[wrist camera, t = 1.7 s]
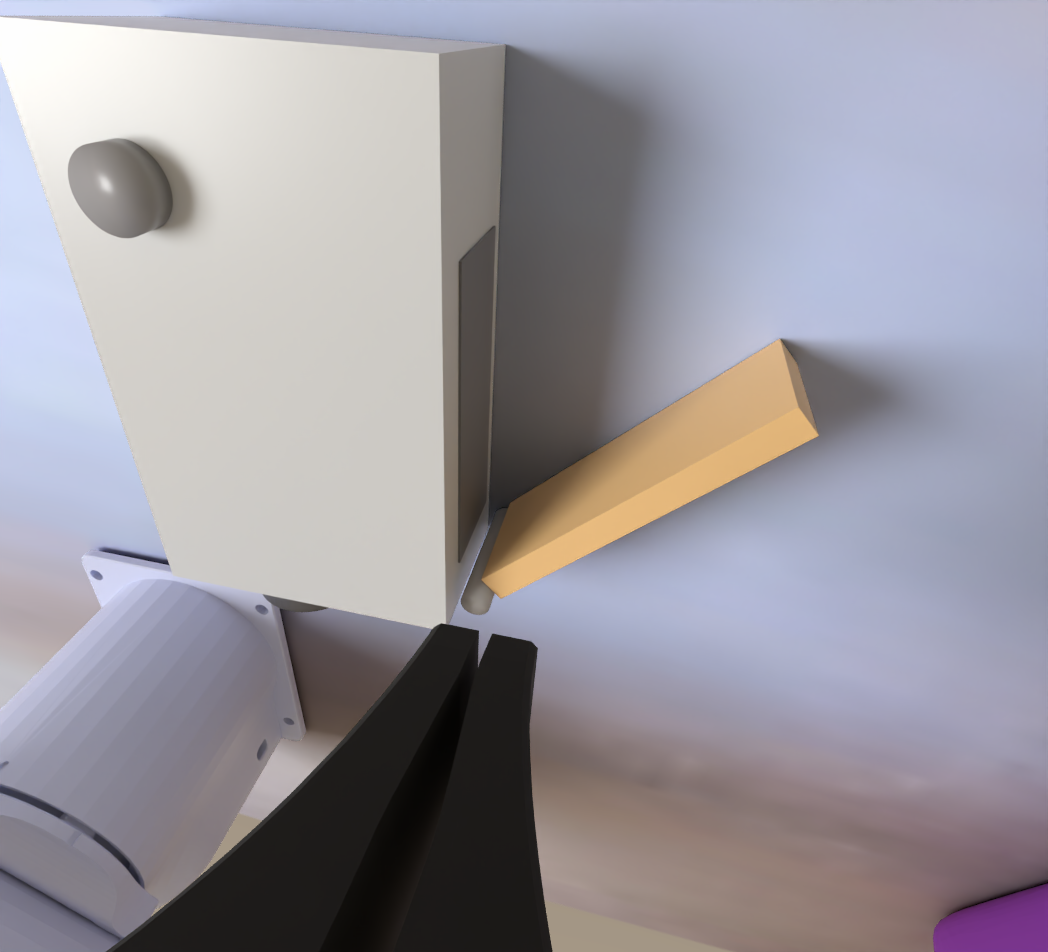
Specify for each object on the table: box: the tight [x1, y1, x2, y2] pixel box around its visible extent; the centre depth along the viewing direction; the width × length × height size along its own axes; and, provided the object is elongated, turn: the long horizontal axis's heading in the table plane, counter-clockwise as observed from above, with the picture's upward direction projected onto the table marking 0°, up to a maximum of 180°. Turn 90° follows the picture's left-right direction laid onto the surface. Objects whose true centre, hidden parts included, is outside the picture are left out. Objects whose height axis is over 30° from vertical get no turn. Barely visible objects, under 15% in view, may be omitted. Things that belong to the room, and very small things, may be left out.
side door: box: [461, 339, 819, 615], centre depth 17 cm, size 10×1×4 cm, turn 131°
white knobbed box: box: [0, 16, 506, 629], centre depth 16 cm, size 14×8×5 cm, turn 176°
